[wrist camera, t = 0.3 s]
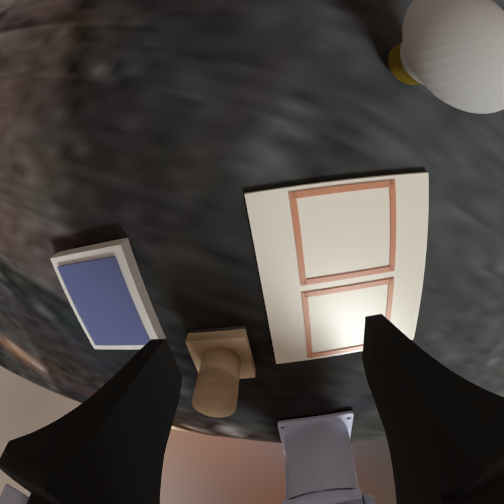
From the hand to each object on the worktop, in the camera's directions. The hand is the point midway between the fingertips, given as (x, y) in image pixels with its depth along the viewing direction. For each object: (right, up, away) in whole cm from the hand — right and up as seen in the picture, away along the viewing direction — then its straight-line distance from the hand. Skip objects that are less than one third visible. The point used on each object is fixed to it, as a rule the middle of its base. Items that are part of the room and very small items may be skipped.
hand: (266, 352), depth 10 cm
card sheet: (+6, +2, +10) cm, 12 cm away
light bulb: (+9, +15, +4) cm, 18 cm away
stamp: (-3, -4, +13) cm, 14 cm away
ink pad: (-12, 0, +11) cm, 16 cm away
